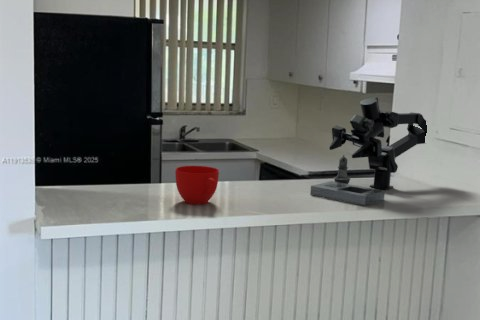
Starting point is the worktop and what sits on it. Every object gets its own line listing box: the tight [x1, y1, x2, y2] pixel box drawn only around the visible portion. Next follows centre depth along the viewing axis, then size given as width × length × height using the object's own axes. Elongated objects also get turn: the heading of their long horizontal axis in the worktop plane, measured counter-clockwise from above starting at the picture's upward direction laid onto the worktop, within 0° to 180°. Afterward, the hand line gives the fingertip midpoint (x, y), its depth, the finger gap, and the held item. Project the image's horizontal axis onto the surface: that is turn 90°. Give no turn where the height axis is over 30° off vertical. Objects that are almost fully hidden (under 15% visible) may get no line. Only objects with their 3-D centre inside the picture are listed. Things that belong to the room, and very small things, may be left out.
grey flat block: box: [310, 180, 385, 207], centre depth 196 cm, size 13×20×3 cm, turn 50°
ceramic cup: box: [175, 165, 220, 205], centre depth 178 cm, size 13×17×10 cm
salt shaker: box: [333, 154, 351, 184], centre depth 210 cm, size 6×6×12 cm
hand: (340, 152), depth 198 cm, fingers open, 9 cm apart
